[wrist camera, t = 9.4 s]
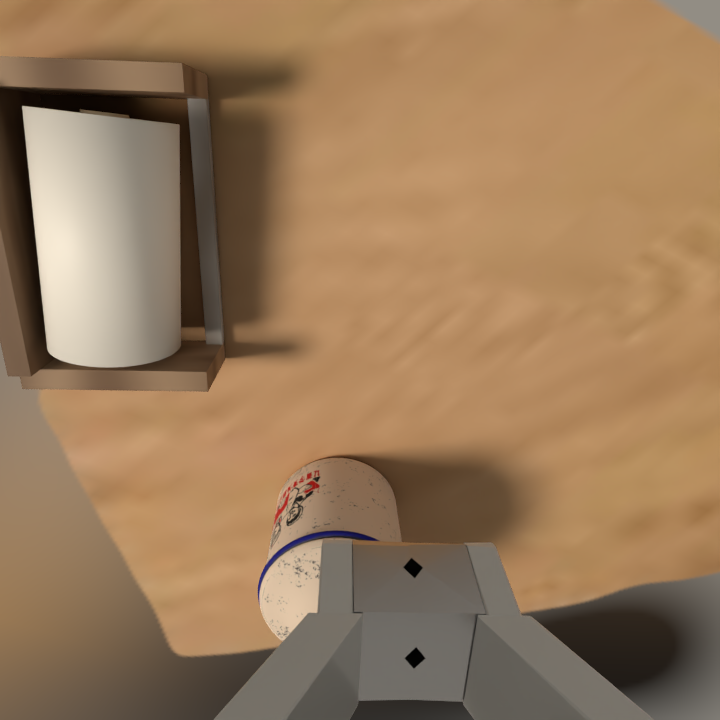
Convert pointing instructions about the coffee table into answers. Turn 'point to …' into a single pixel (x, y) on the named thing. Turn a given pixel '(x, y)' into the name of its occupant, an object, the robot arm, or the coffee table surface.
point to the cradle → (17, 233)
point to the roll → (106, 234)
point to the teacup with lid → (320, 532)
